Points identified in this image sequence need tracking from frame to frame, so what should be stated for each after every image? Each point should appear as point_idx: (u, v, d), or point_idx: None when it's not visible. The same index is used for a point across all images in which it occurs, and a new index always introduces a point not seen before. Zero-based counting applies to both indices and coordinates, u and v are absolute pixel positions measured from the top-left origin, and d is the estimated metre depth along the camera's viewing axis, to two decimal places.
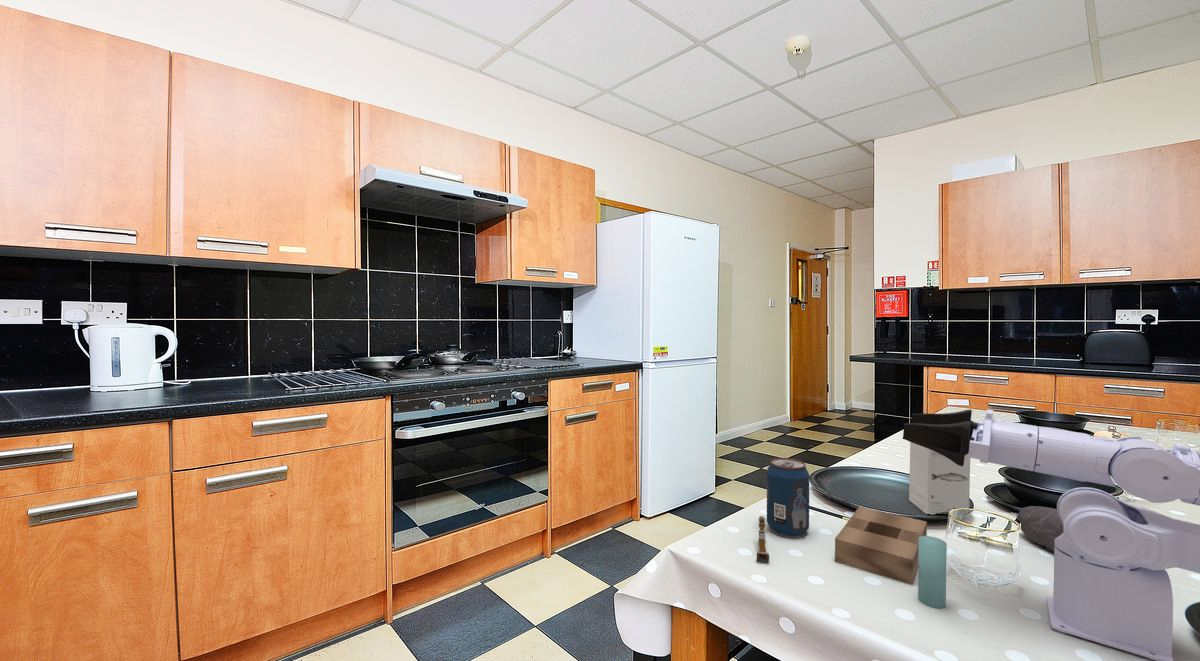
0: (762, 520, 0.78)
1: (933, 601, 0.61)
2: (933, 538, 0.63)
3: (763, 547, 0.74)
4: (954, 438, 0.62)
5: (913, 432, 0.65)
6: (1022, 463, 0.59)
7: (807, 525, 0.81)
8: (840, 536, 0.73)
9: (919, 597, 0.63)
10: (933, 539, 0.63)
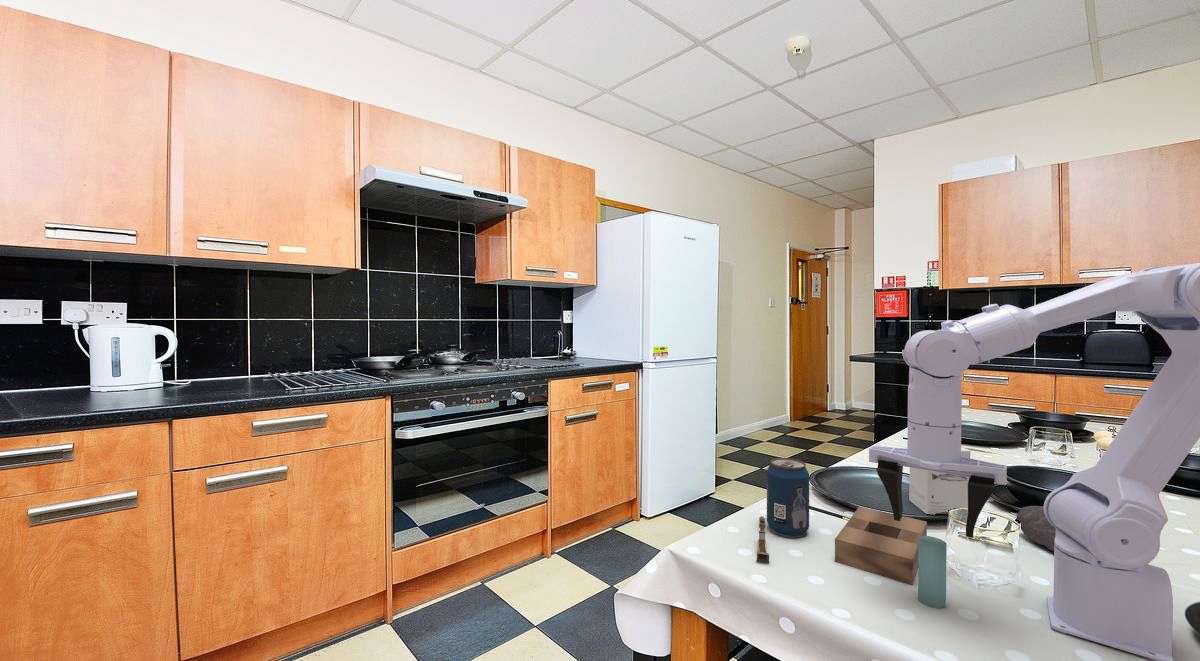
0: (762, 520, 0.78)
1: (933, 601, 0.61)
2: (933, 538, 0.63)
3: (763, 547, 0.74)
4: None
5: None
6: None
7: (807, 525, 0.81)
8: (840, 536, 0.73)
9: (919, 597, 0.63)
10: (933, 539, 0.63)
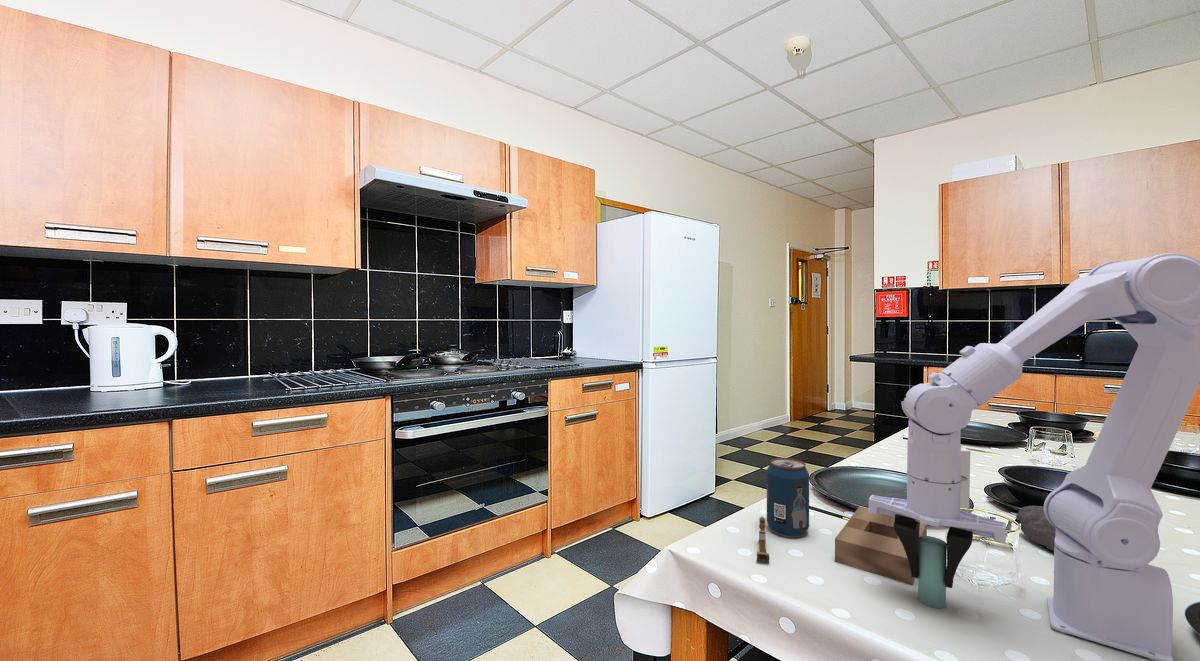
0: (762, 521, 0.78)
1: (933, 601, 0.61)
2: (933, 538, 0.63)
3: (763, 548, 0.74)
4: None
5: None
6: None
7: (807, 525, 0.81)
8: (840, 536, 0.73)
9: (919, 597, 0.63)
10: (933, 539, 0.63)
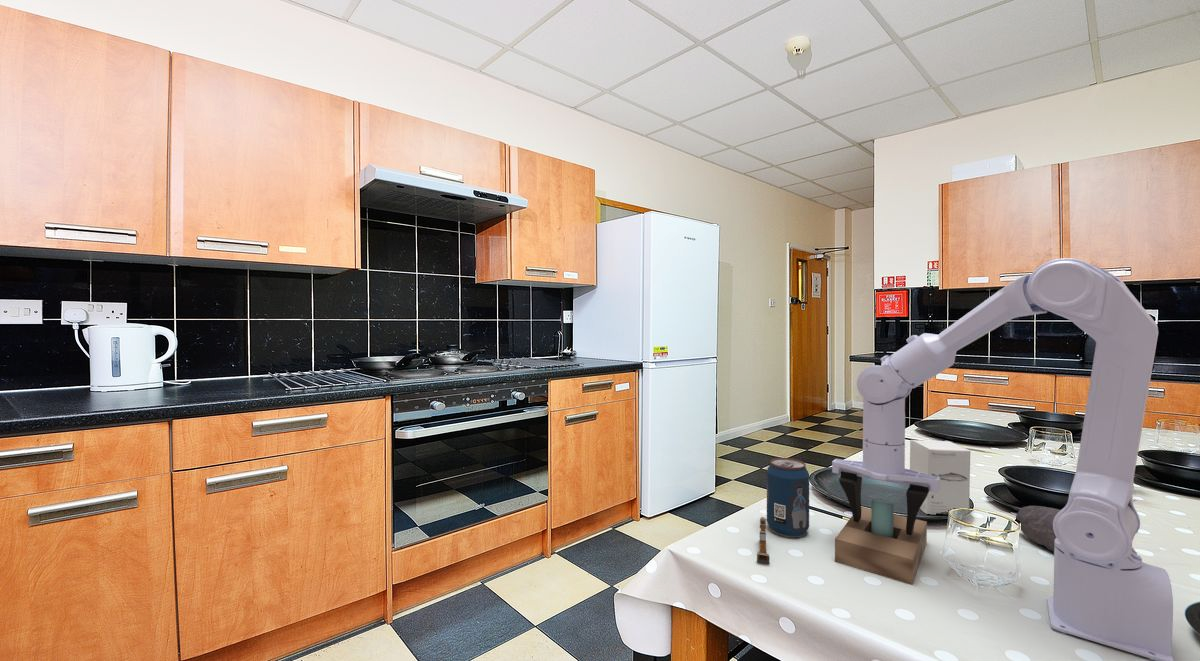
0: (763, 521, 0.77)
1: None
2: (883, 500, 0.76)
3: (764, 548, 0.73)
4: None
5: (913, 526, 0.73)
6: None
7: (807, 525, 0.81)
8: (840, 536, 0.73)
9: None
10: (883, 500, 0.76)
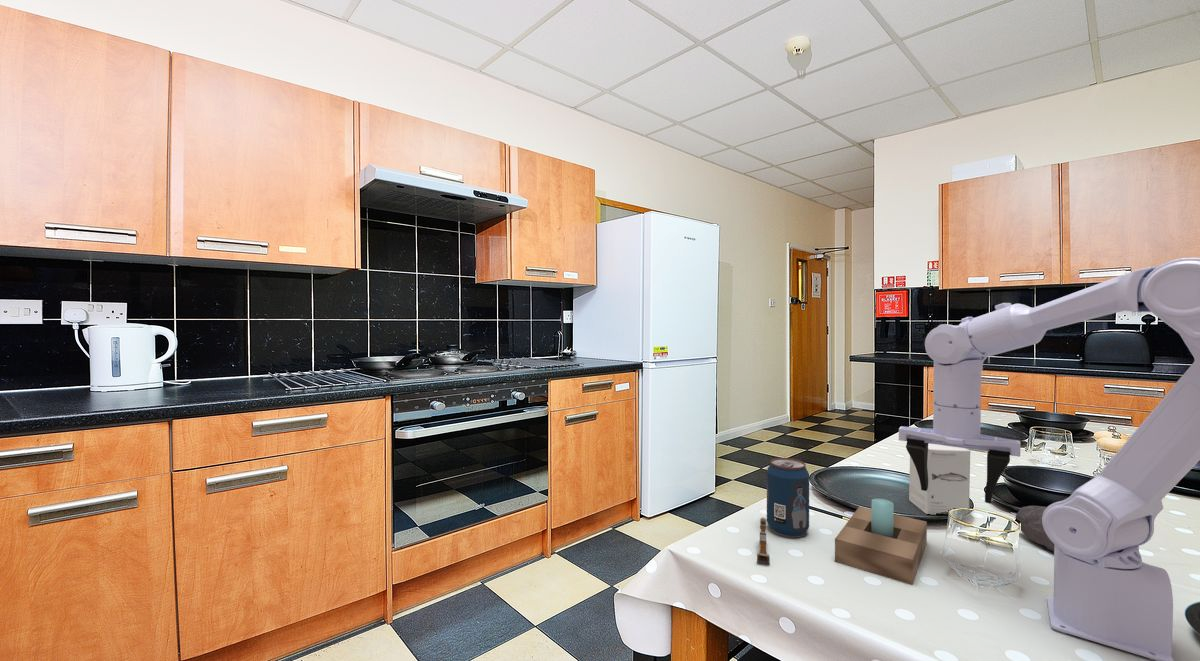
0: (763, 522, 0.77)
1: None
2: (883, 500, 0.76)
3: (764, 549, 0.73)
4: None
5: None
6: None
7: (807, 525, 0.81)
8: (840, 536, 0.73)
9: None
10: (883, 500, 0.76)
